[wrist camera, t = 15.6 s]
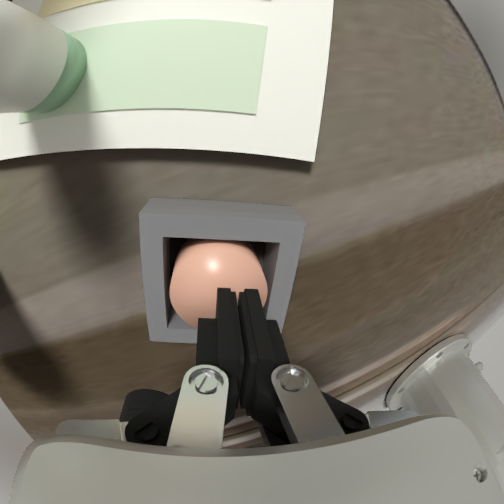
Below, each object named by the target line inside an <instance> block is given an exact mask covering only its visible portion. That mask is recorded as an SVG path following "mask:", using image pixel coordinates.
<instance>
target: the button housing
mask: <svg viewBox="0 0 504 504" xmlns="http://www.w3.org/2000/svg"><path fill="white" fill-rule="evenodd" d="M305 226H306V222H305V221H304V220H303V219H302V218H301V217H300V216H299V214H298V213H297V212H296V211H295V210H294V209H293V208H292V207H291V206H282V205H270V204H258V203H245V202H231V201H215V200H196V199H174V198H150V199H149V200H148V202H147V203H146V204H145V206H144V207H143V208H142V210H141V211H140V212H139V231H140V251H141V266H142V278H143V288H144V298H145V307H146V315H147V322H148V329H149V336H150V341H159V342H176V343H197V330H198V328H195V327H193V326H191V325H189V324H188V323H186V322H185V321H184V320H183V319H182V318H180V316H179V315H178V314H177V313H176V311H175V310H174V308H173V306H172V303H171V300H170V284H171V281H170V237H176V238H198V239H219V240H239V241H258V242H266V247H265V254H264V260H263V267H262V270H263V273H264V276H265V279H266V282H267V289H268V293H267V299H266V302H265V305H264V307H263V310H264V314H265V318H266V320H276V321H277V323H278V326H279V329H280V332H281V333H282V329H283V325H284V321H285V316H286V312H287V308H288V304H289V300H290V295H291V291H292V287H293V282H294V278H295V273H296V269H297V264H298V260H299V255H300V250H301V245H302V241H303V236H304V231H305Z"/></svg>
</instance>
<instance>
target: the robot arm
mask: <svg viewBox="0 0 504 504" xmlns="http://www.w3.org/2000/svg"><path fill="white" fill-rule="evenodd" d="M471 348H472V343H471V340H470V339H469V338H468V337H467V336H466V335H464V334H457V335H454V336H451V337H449V338H447V339H445V340H443V341H441V342H440V343H438V344H436V345H435V346H434V347H432V348H431V349H429V350H428V351H427V352H426V353H424V354H423V355H422V356H421V357H419V358H418V359H417V360H416V361H415V362H414V363H413V364H412V365H411V366H410V367H409V368H408V369H407V370H406V371H405V372H404V373H403V374H402V375H401V376H400V377H399V378H398V379H397V381H396V382H395V383H394V385H393V386H392V387H391V389H390V391H389V393H388V395H387V398H386V404H387V405H388V407H389V409H390V410H391V411H368V412H367V413H366V414H364V413H362V412H361V411H359V410H358V409H356V408H353V407H351V406H349V405H347V404H345V403H343V402H341V401H339V400H337V399H335V398H333V397H332V396H330V395H328V394H326V393H324V392H322V391H320V390H319V388H318V386H317V384H316V382H315V381H314V379H313V377H312V375H311V374H310V373H309V372H308V371H307V370H306V369H305V368H303V367H301V366H298V365H294V364H290V362H289V358H288V355H287V352H286V349H285V345H284V342H283V339H282V336H281V332H280V329H279V326H278V323H277V321H276V320H266V318H265V314H264V310H263V306H262V302H261V299H260V295H259V291H258V289H244V292H239V297H238V305H237V298H236V292H233V291H231V288H220V287H217V300H216V317H215V318H198V330H197V352H196V366H195V367H193V368H191V369H190V370H189V371H187V372H186V374H185V376H184V379H183V383H182V387H181V388H179V389H178V390H176V391H175V392H173V393H172V394H170V395H169V396H167V397H166V398H164V399H162V400H161V401H159V402H158V403H156V404H155V405H153V406H151V407H150V408H148V409H147V410H145V411H143V412H142V413H140V414H139V415H137V416H135V417H134V418H132V419H131V420H130V421H129V422H120V420H73V419H71V420H65V421H63V422H61V423H60V424H59V425H58V426H57V428H56V432H55V435H54V436H47V437H43V438H40V439H37V440H35V441H33V442H32V443H31V444H30V445H29V446H28V447H27V448H26V450H25V452H24V453H23V455H22V457H21V459H20V462H19V464H18V467H17V470H16V473H15V477H14V481H13V485H12V489H11V494H10V500H9V504H504V405H503V404H502V402H501V401H500V399H499V398H498V396H497V395H496V394H495V392H494V391H493V390H492V388H491V387H490V386H489V384H488V383H487V382H486V380H485V379H484V378H483V376H482V375H481V371H482V370H483V363H482V362H478V363H476V364H474V363H473V361H472V360H471V359H470V358H469V355H470V352H471ZM239 397H240V405H241V409H246V413H247V416H251V418H253V419H254V420H256V421H257V422H258V426H259V430H260V432H261V435H262V438H263V441H264V443H265V446H266V447H257V448H237V449H222V444H223V435H224V426H225V425H227V424H228V423H229V422H230V421H231V420H232V419H233V418H234V415H235V409H237V407H238V401H239Z"/></svg>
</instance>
